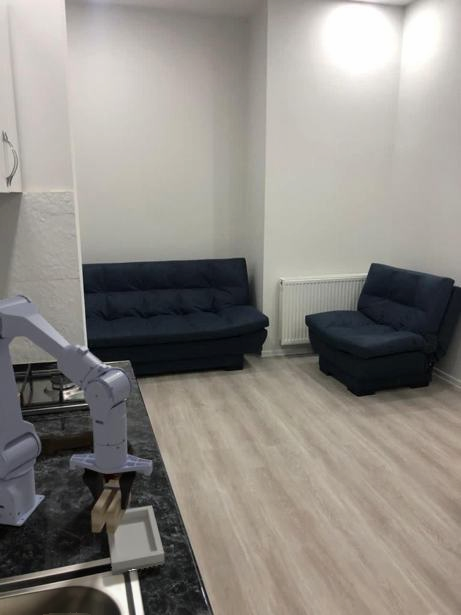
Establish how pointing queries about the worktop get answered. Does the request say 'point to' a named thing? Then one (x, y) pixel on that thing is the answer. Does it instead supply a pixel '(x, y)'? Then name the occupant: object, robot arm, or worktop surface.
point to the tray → (136, 541)
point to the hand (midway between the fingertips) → (112, 505)
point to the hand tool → (65, 442)
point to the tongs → (108, 508)
